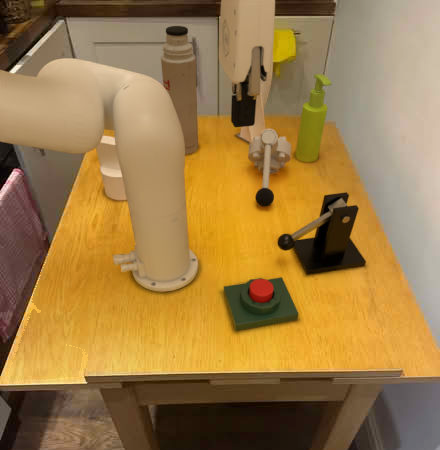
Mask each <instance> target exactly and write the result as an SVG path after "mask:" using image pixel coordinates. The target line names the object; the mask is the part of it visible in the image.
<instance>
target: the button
mask: <svg viewBox="0 0 440 450" xmlns="http://www.w3.org/2000/svg"><path fill="white" fill-rule="evenodd" d="M256 279H257V280H254V281H253V282H252V283H251V284H250V290H249V295H250V297H251V299H252V300H254V301H255V302H259V303H265V302H268V301H269V300H270V299H271V298H272V296H273V289H274V288H273V285H272V283H271V282H269V281H268V279H267V280H265V279H266V278H263V279H258V278H256Z"/></svg>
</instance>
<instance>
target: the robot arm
mask: <svg viewBox="0 0 440 450" xmlns="http://www.w3.org/2000/svg"><path fill="white" fill-rule="evenodd" d="M275 15H276V0H221V1H220V15H219V16H220V17H219V36H218V39H219V40H218V43H219V44H218V61H219V64H220V66H221V67H222V69H223V71H224V72H225V74H226V75H227V77H228V78H229V80H230V81H231V93H232V95H231V109H230V111H231V112H230V121H231V124H232V126H233V127H234V128H241V127H246V126H253V125H254V123H255V111H256V99H257V95H260V79H261V80H262V81H263V82H266V81H267V80H268V79H269V76H270V71H271V64H272V54H273V55H274V41H275V40H274V39H275V21H276V20H275V17H276V16H275ZM105 130H106V131H113V133H114V134H113V135H114V137H115V144H116V150H117V156H118V160H119V165H120V169H121V173H122V178H123V182H124V187H125V193H126V198H127V200H126V203H127V206H128V212H129V217H130V223H131V227H132V228H131V229H132V234H133V238H134V250H130V251H129V253H128V252H127V253H118V254H113V255H112V259H113V264H114V266H119V265H120V271H121V273H126V272H129V271H131V272H132V276H133V278H134V280H135V282H137V284H138V285H140V286H141V287H143V288H145V289H147V290H150V291H154V292H172V291H176V290H179V289H181V288H184V287H186V286H187V285H189V284H191V282H192V281H193V280H194V279H195V278H196V276H197V274H198V272H199V260H198V258H197V255H196V254H195V253H194V251H192V249H190V242H189V228H188V213H187V212H188V210H187V198H186V182H185V181H186V179H185V169H186V168H185V163H186V154H185V143H184V136H183V132H182V128H181V124H180V121H179V119H178V116H177V113H176V110H175V108H174V105H173V102H172V100H171V97H170V95H169V93H168V92H167V90H166V89H165V88H164V86H163V83H160V82H159V81H158V80H157V79H155V78H153V77H151V76H149V75H147V74H143V73H139V72H135V71H132V70H127V69H123V68H119V67H115V66H111V65H108V64H107V65H105V64H102V63H98V62H95V61H89V60H85V59H79V58H71V57H66V58H58V59H57V58H56V59H55V60H51V61H49V62H48V63H46V64H45V65H44V66H43V67H42V68H41V69H40V70H39V71H38V73H37V75H36V76H32V75H24V74H19V73H14V72H10V71H6V70H2V69H0V142H1V143H6V144H10V145H16V146H20V147H21V146H22V147H29V148H33V149H34V148H35V149H41V150H48V151H51V152H52V151H54V152H59V153H60V152H61V153H64V154H65V153H66V154H73V155H80V154H82V155H83V154H88V153H90V152H92V151H94V150H95V149H96V147H97V146H98V145H99V143H100V141H101V139H102V137H103V135H104V131H105Z"/></svg>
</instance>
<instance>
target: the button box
mask: <svg viewBox="0 0 440 450" xmlns="http://www.w3.org/2000/svg"><path fill="white" fill-rule="evenodd" d="M257 279H265V280H268V281H269V282H271V283H272V285H273V288H274V289H273V296H272V298H271V299H270V300H269V301H268V302H265V303H259V302H255V301H254V300H252V299H251V297H250V295H249V290H250V284H251V283H252V282H253V281H254V280H257ZM223 296H224V299H225V302H226V305H227V308H228V311H229V314H230V317H231V321H232V323H233V327H234V331H235V332H237V331H242V330H247V329H248V330H249V329H253V328H260V327H265V326H270V325H271V326H272V325H278V324H283V323H287V322H292V321H293V322H294V321H298V318H299V314H300V313H299V311H298V309H297V307H296V305H295V303H294V301H293V298H292V297H291V294H290V292H289V290H288V288H287V286H286V283H285V281H284V279H283V277H282V276H279V277H274V278H269V279H267V278H263V277H258V278H253V279H249V280H248V281H246V282H243V283H242V282H241V283H237V284H236V283H235V284H229V285H225V286H223Z"/></svg>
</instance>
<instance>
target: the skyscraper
mask: <svg viewBox="0 0 440 450" xmlns="http://www.w3.org/2000/svg"><path fill="white" fill-rule="evenodd" d="M273 71H274V53H273V54H272V64H271V71H270V76H269V79H268V80H267V81H266V82H263V81H262V80H261V79H260V95H257V99H256V111H255V123H254V125H253V126H246V127H240V132H239V133H236V134H235V137H237V138H238V139H240V140H242V141H244V142H246V143H247V144H248V145H249V144H250V143H251V142H252V141H253V138H254V137H256V136H258V137H261V132H262V131H263V130H265V129H266V122H265V115H264V114H265V111H264V109H265V106H266V103H267V100H268V97H269V94H270V91H271V85H272V80H273Z"/></svg>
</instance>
